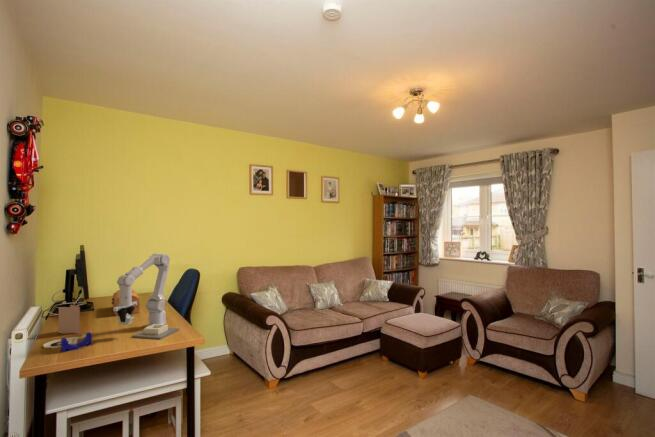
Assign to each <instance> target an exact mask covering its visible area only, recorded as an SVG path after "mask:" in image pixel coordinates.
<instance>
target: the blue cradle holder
mask: <svg viewBox="0 0 655 437" xmlns="http://www.w3.org/2000/svg"><path fill="white" fill-rule="evenodd" d="M88 332H89V333H87V332H85V333H86V337H85V338H84V340H83V341H81V342H80V343H77V344H68V342H67V339H66V338H67V337H62V338H61V337H60V339H61V347H60V351H61V352H62V351H63V352H62V353H67V351H68V352H71V351H75V350H78V349H80V348H84V347H88V346H91V345H92V344H93V343H92V342H93V336H92V335H93V334H92V332H91V331H88ZM90 332H91V333H90Z"/></svg>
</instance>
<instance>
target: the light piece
mask: <svg viewBox="0 0 655 437" xmlns="http://www.w3.org/2000/svg"><path fill="white" fill-rule="evenodd" d="M89 332H90V333H92V331H88V332H87V331H86V332H82V333H81V332H80V333H76V334H77V335H76V336H70V337H65V338H66V339H67V342H68V344H78V343H80V342H81V341H83V340H84V338H85V337H86V333H89ZM42 346H43V347H44V348H43V347H42V348H43V349H45V348H52V349H58V347H59V348H61V338H60V339H53V340H51V341H48V342H46V343H44V344H43V345H42Z"/></svg>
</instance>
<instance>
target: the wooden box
mask: <svg viewBox="0 0 655 437" xmlns="http://www.w3.org/2000/svg"><path fill="white" fill-rule="evenodd" d="M112 295H113V296H112V299H111V301H112V302H111V304H112V309H113V308H114V307H117V306H118V305H119V304H120V289H118V290H117V291H116V292H114V293H113V294H112ZM132 302H137V305H134V306H133V307H135V309H134V310H133V312H132V315H134V314H140V310H141V308H140V297H139V295H138V294H137V292H136V291H135V290H134V289H132ZM113 313H114V317H119V315H118V313H117V312H116V311H113Z"/></svg>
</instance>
